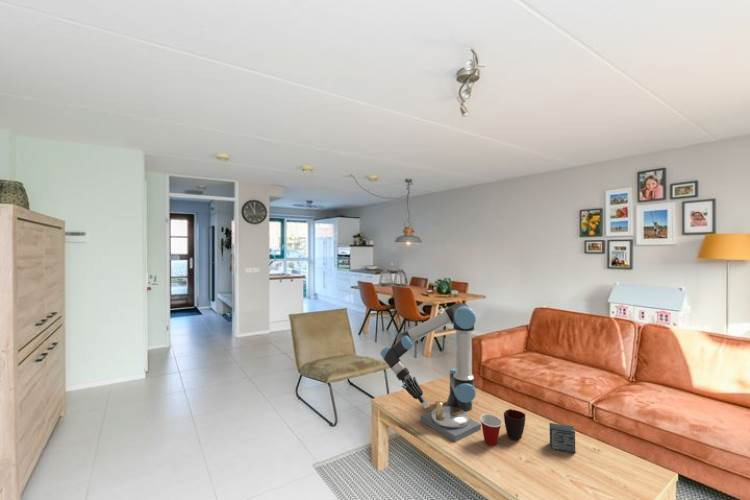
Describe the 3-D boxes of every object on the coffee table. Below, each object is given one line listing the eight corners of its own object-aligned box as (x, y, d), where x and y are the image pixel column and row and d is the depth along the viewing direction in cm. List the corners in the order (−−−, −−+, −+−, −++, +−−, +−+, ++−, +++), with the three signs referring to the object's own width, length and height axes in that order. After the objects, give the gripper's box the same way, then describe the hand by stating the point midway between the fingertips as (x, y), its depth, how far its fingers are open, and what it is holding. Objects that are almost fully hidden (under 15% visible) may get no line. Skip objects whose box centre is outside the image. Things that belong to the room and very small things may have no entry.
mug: (501, 437, 180) (501, 414, 180) (511, 426, 191) (511, 405, 190) (521, 444, 174) (521, 421, 174) (530, 433, 184) (530, 410, 184)
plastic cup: (493, 451, 168) (493, 427, 168) (475, 441, 177) (475, 418, 177) (507, 444, 174) (507, 420, 174) (488, 434, 183) (488, 412, 183)
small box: (572, 446, 172) (572, 425, 172) (575, 453, 166) (575, 432, 166) (549, 442, 176) (549, 421, 176) (551, 449, 170) (551, 428, 169)
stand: (420, 420, 198) (420, 415, 198) (445, 410, 210) (445, 405, 210) (455, 441, 177) (455, 435, 177) (480, 429, 188) (480, 423, 188)
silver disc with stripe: (459, 409, 205) (459, 389, 204) (474, 426, 185) (474, 405, 185) (426, 412, 201) (426, 392, 201) (438, 430, 182) (438, 408, 181)
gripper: (401, 371, 207) (427, 405, 199) (390, 378, 196) (418, 415, 188) (409, 363, 205) (436, 398, 196) (399, 370, 193) (427, 408, 185)
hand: (427, 406), depth 192 cm, fingers closed
